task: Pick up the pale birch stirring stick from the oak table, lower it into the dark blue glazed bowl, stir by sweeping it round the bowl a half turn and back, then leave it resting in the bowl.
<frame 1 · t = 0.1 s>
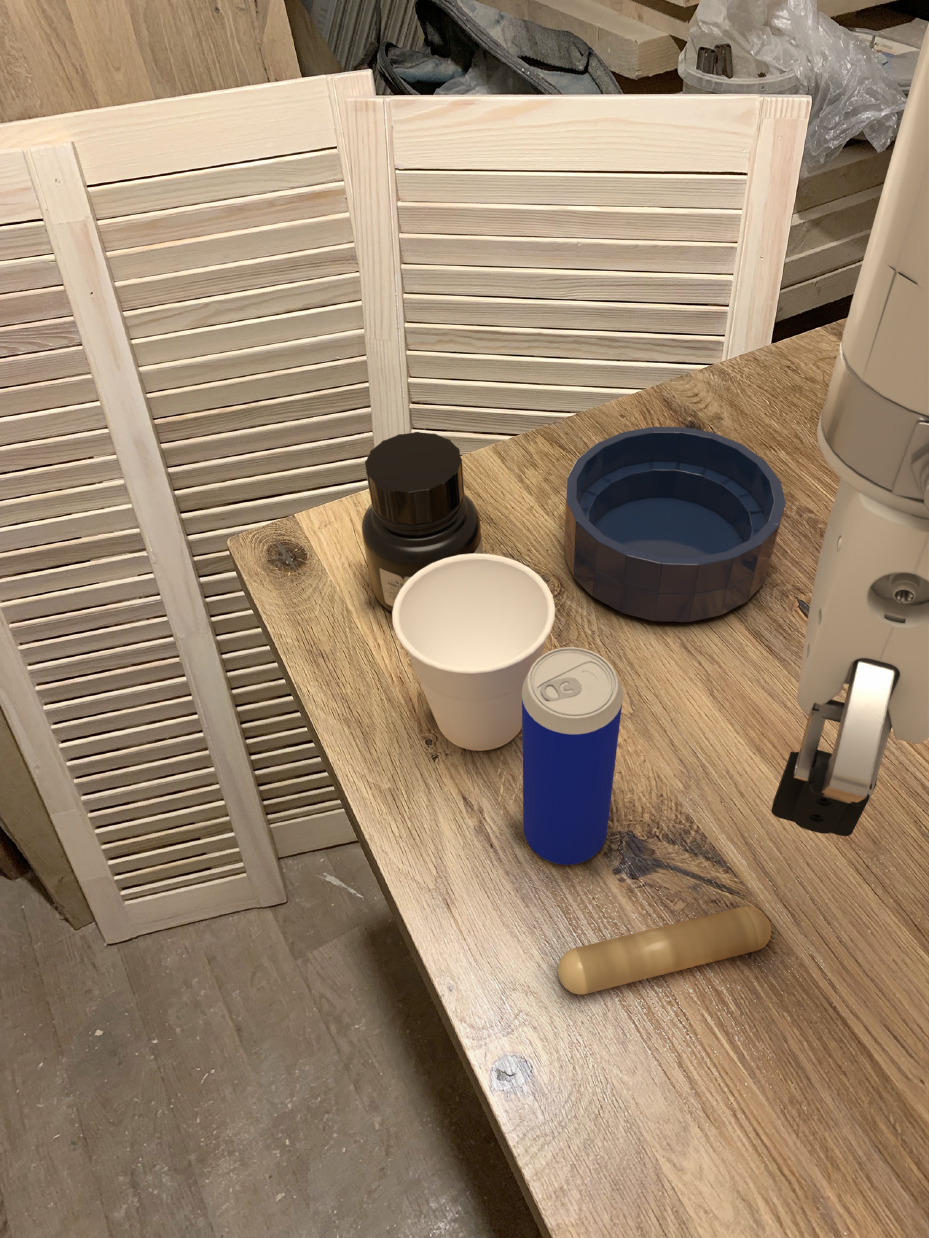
hand: (825, 730, 42), 17 cm above the table, tool pointing down, fingers open, 9 cm apart
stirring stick: (662, 958, 52), on the table
beverage can: (564, 833, 58), on the table
ink bottle: (427, 583, 74), on the table
cup: (481, 718, 64), on the table
bowl: (664, 553, 74), on the table
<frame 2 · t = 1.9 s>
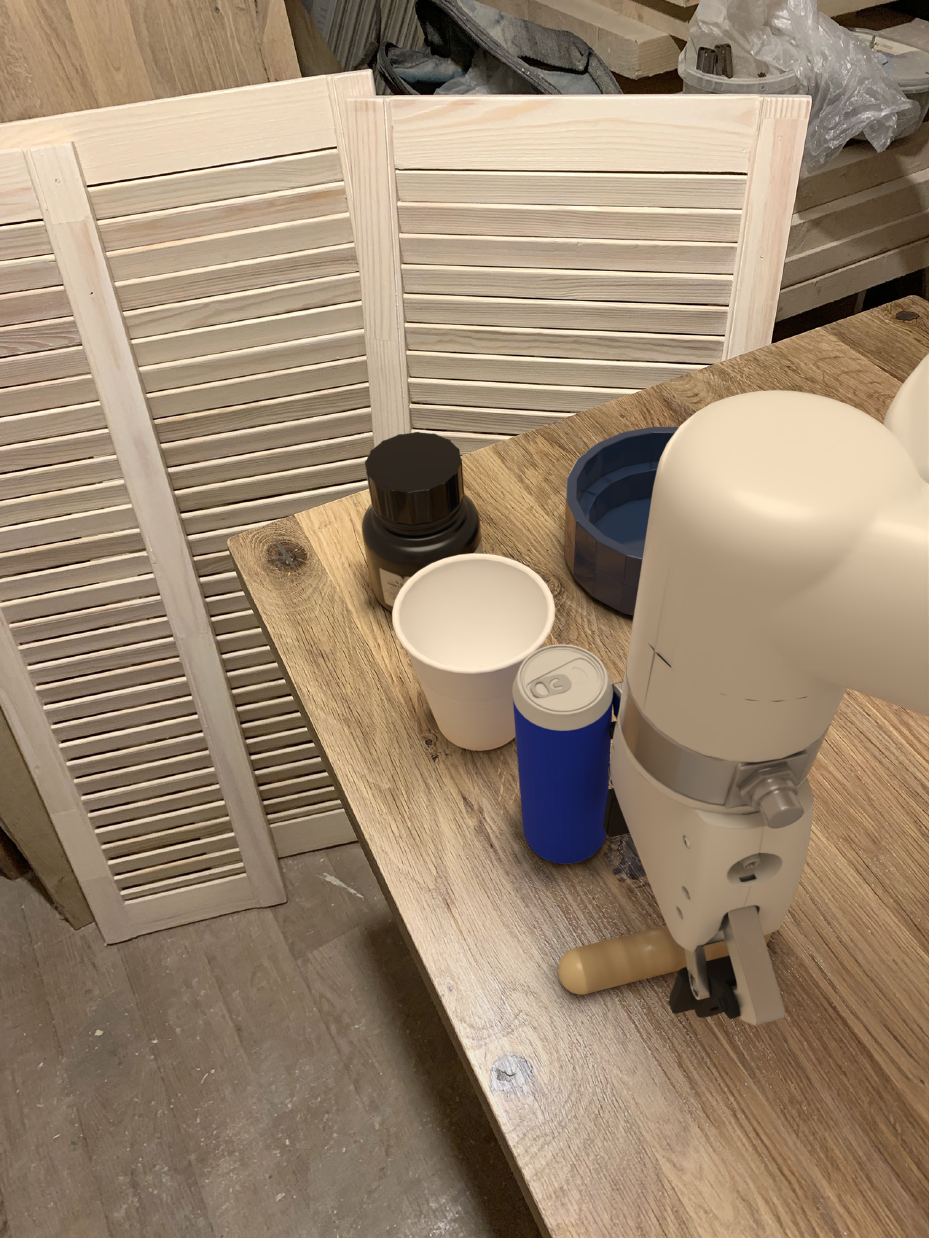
hand: (663, 907, 48), 6 cm above the table, tool pointing down, fingers open, 9 cm apart
nothing on the table moved.
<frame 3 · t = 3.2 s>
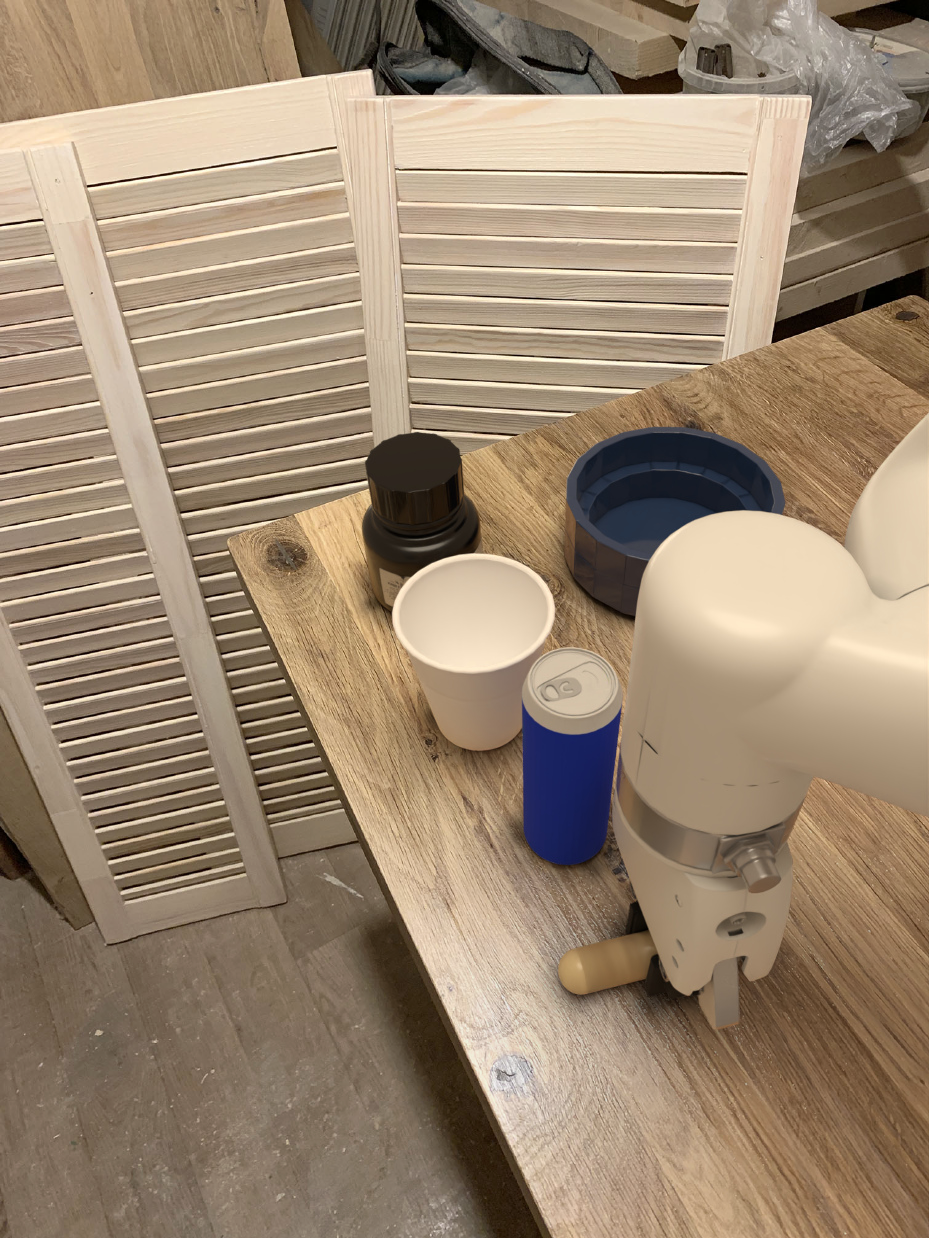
hand: (663, 956, 52), 0 cm above the table, tool pointing down, fingers closed on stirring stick, 2 cm apart
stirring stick: (662, 958, 52), on the table, touching gripper
everything else where it was.
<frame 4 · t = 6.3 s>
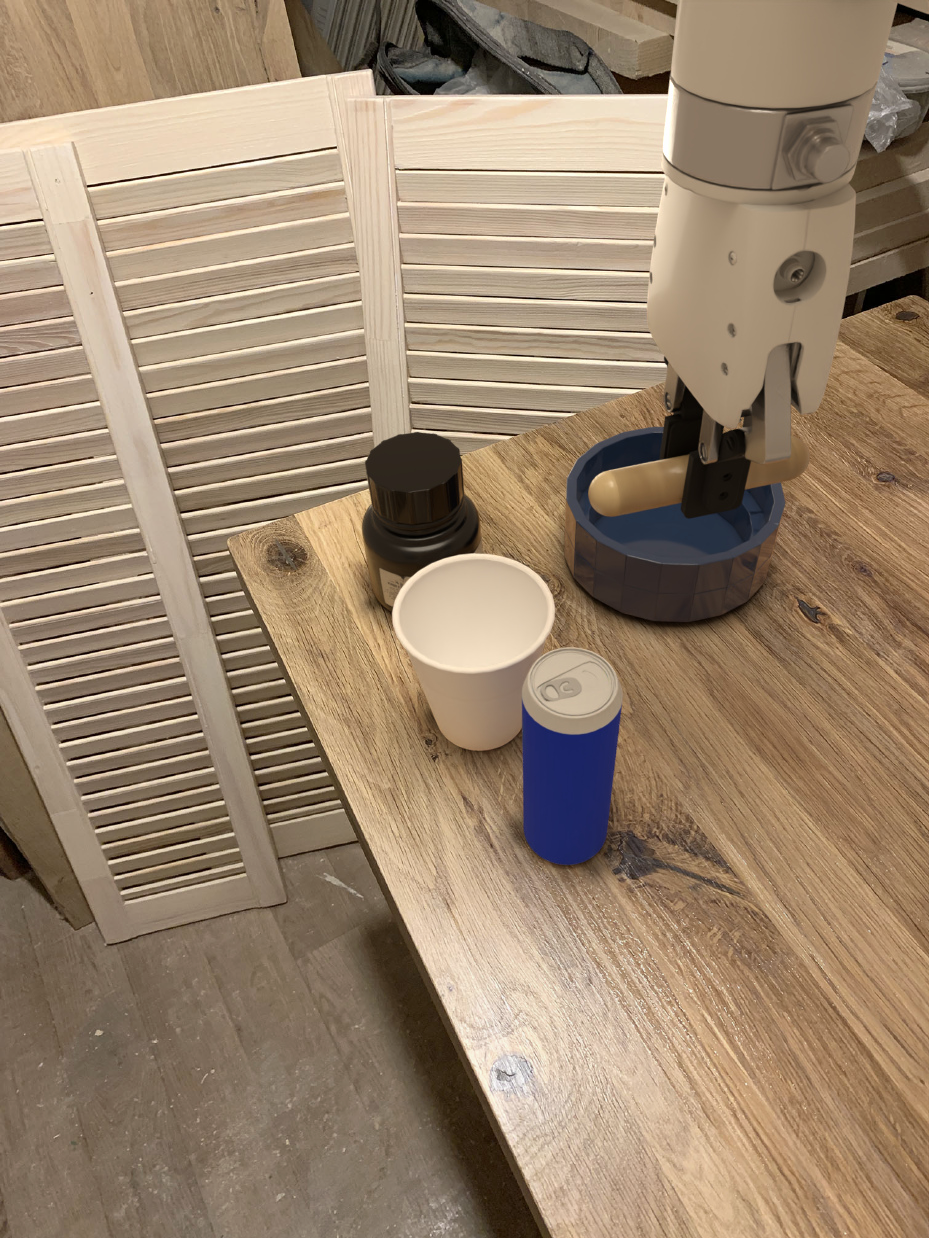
hand: (698, 490, 50), 19 cm above the table, tool pointing down, fingers closed on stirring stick
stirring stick: (696, 493, 50), point 19 cm above the table, touching gripper
everything else where it was.
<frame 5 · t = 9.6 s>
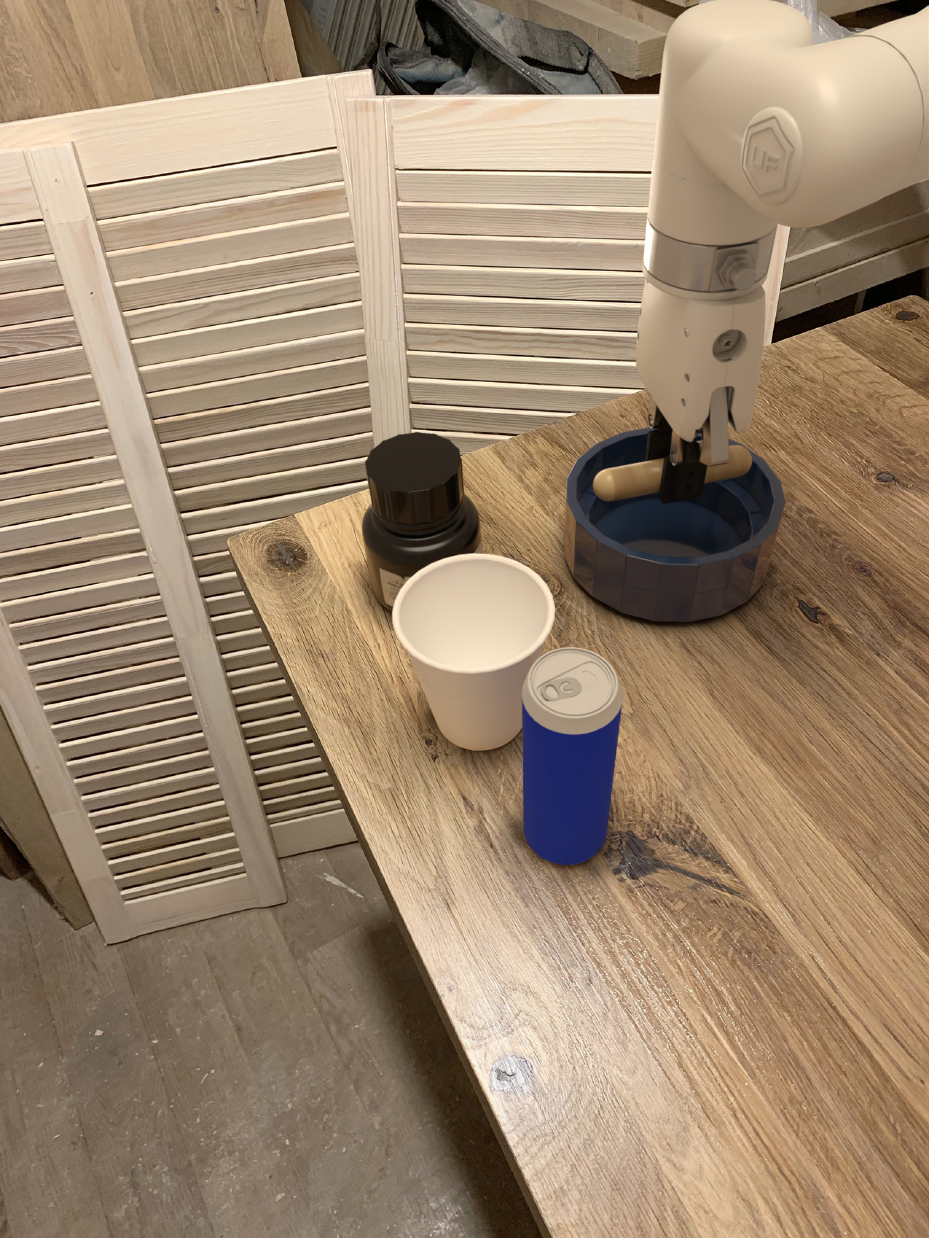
hand: (672, 483, 69), 7 cm above the table, tool pointing down, fingers closed on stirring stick
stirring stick: (670, 485, 69), point 7 cm above the table, touching gripper
everything else where it was.
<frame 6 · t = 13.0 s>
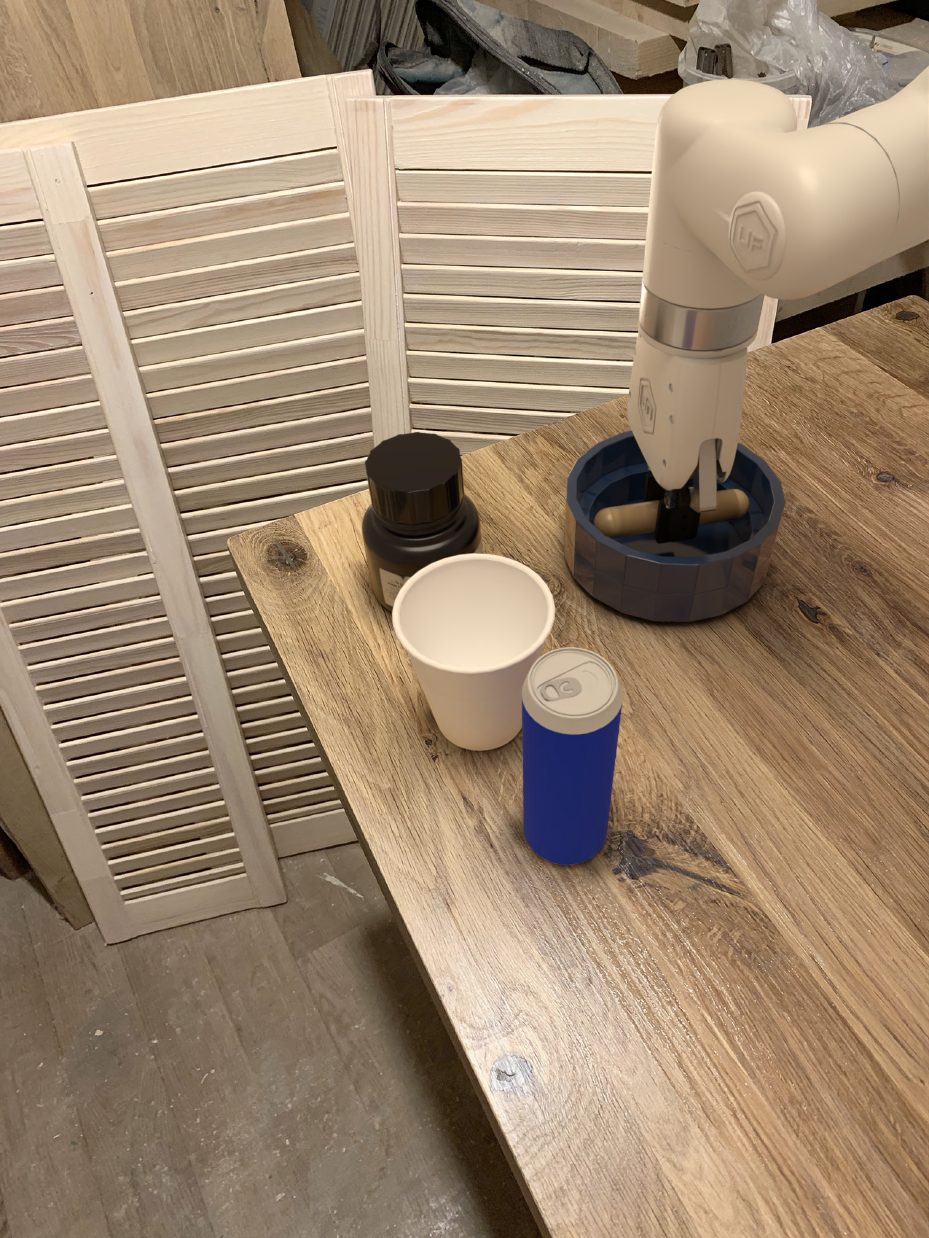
hand: (669, 524, 72), 3 cm above the table, tool pointing down, fingers closed on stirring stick, 2 cm apart
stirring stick: (669, 525, 72), point 3 cm above the table, touching gripper
everything else where it was.
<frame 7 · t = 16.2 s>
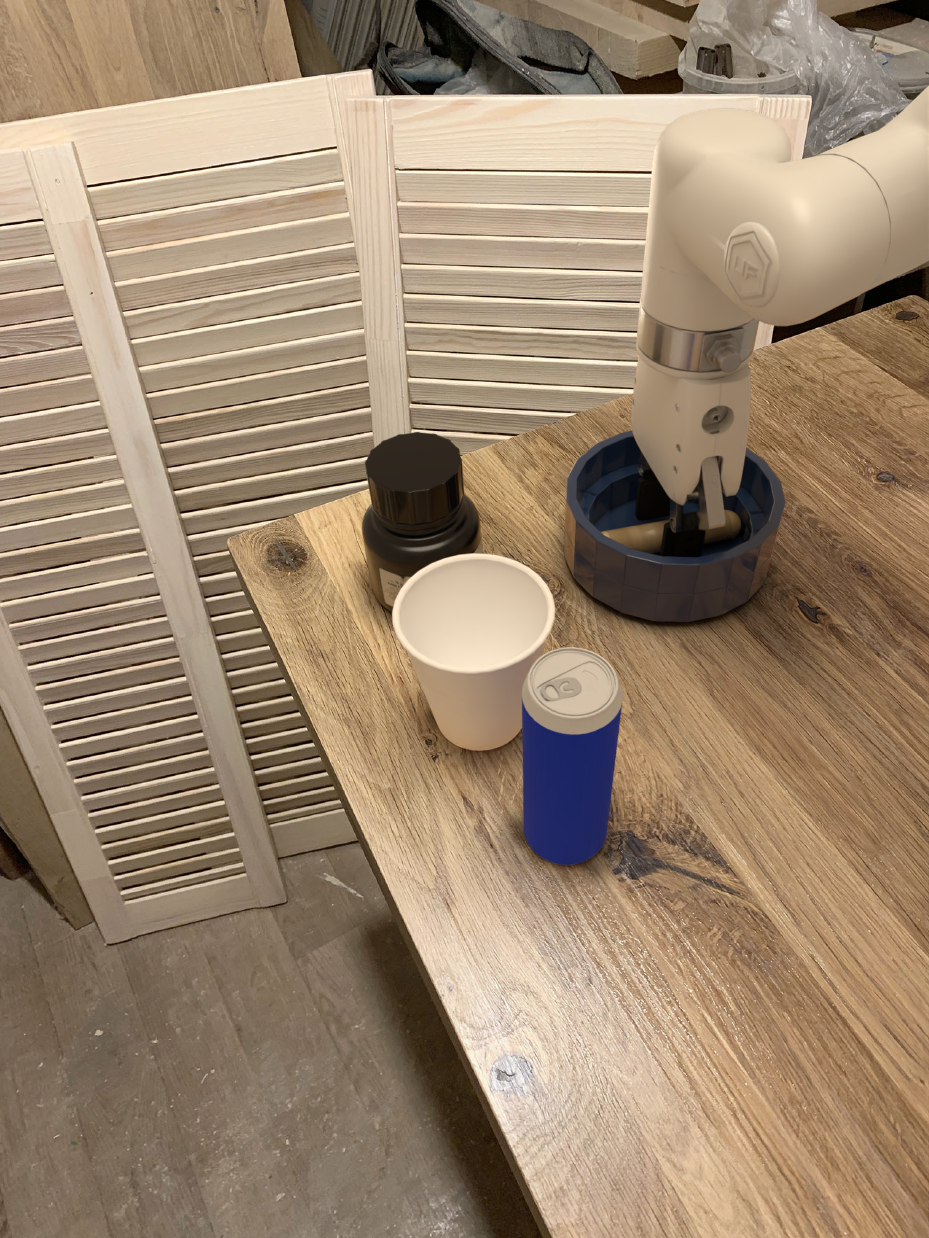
hand: (667, 536, 73), 2 cm above the table, tool pointing down, fingers open, 4 cm apart
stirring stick: (664, 546, 74), point 1 cm above the table, touching bowl
everything else where it was.
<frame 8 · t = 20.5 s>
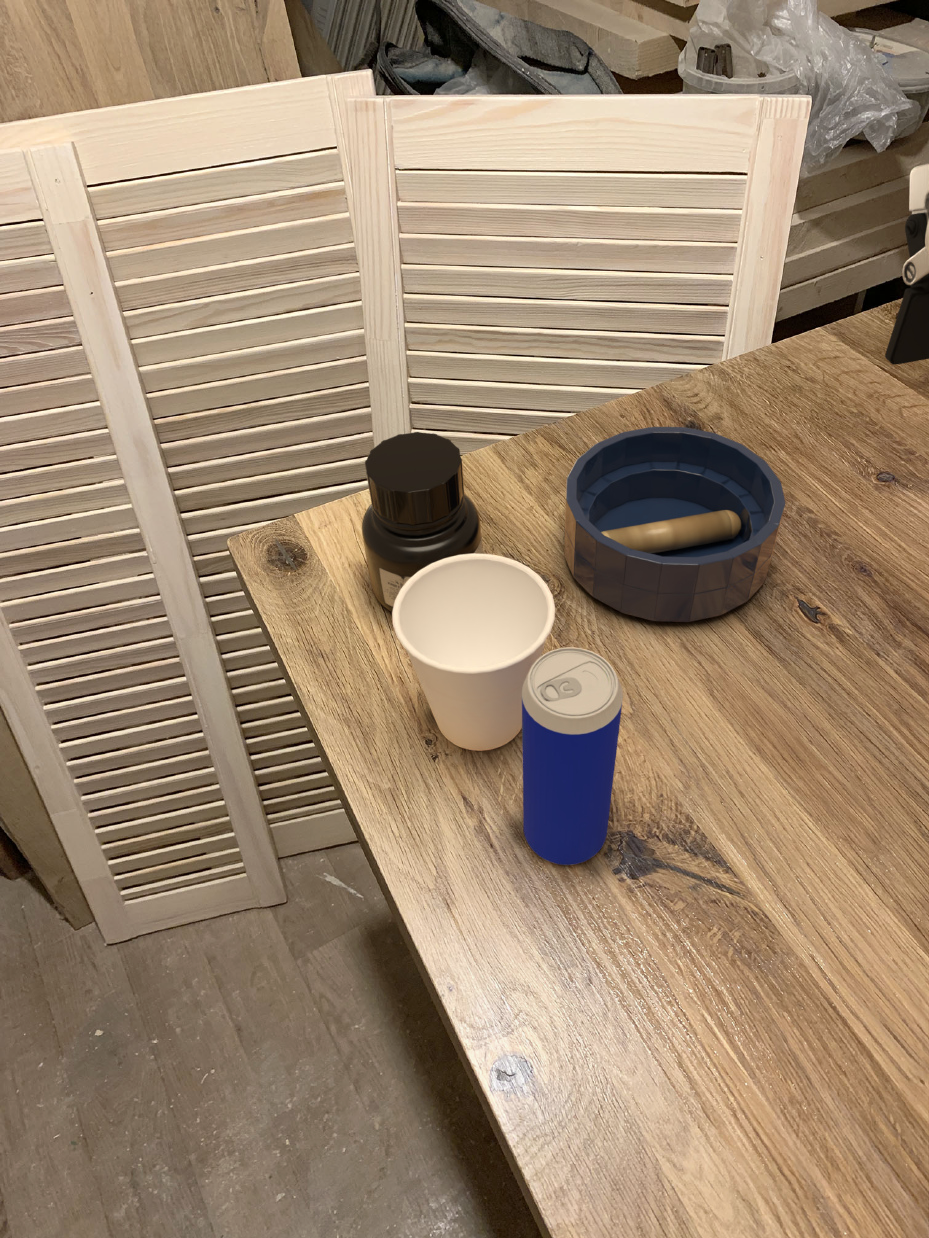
nothing on the table moved.
at the end: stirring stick inside the target area in the bowl (0.0 cm from its centre), point 0.7 cm above the bowl's base; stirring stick moved 33.3 cm from its start; the gripper is holding nothing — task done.
